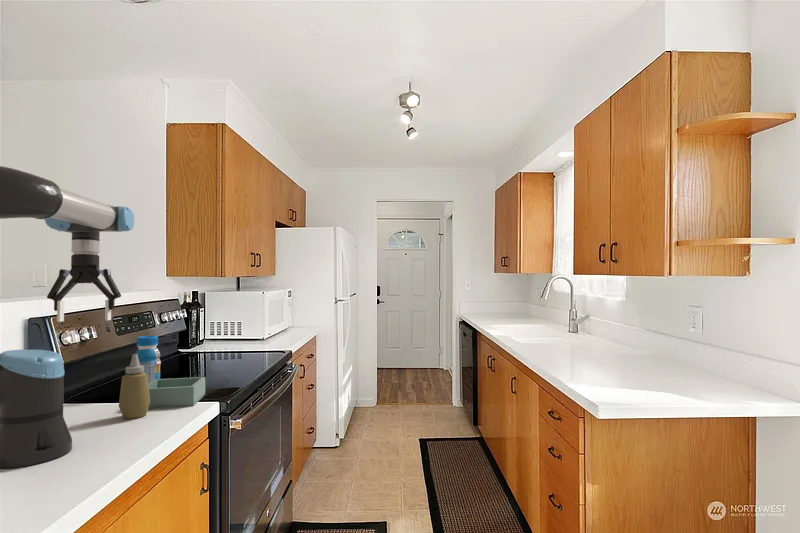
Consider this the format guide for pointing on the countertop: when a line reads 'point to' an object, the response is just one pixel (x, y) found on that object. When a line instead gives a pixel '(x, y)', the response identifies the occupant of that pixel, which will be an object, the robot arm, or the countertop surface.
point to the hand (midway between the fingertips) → (84, 321)
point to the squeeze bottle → (134, 391)
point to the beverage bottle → (149, 356)
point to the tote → (176, 392)
